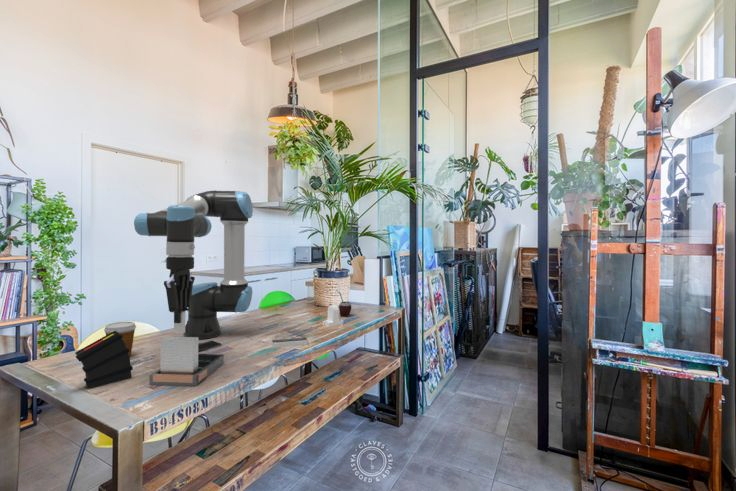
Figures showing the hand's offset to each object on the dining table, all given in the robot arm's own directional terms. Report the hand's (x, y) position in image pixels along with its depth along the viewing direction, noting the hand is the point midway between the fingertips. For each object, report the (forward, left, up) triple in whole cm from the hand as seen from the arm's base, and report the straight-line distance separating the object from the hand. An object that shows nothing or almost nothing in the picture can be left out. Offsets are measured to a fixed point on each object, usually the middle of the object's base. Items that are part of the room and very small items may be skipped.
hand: (179, 332), depth 106 cm
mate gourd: (+43, +92, -15) cm, 103 cm away
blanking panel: (0, 0, -14) cm, 14 cm away
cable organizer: (+39, +73, -15) cm, 84 cm away
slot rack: (0, +6, -15) cm, 16 cm away
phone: (-9, +30, -16) cm, 35 cm away
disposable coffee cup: (-32, +18, -15) cm, 40 cm away
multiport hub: (+25, +38, -16) cm, 48 cm away
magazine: (-21, -3, -15) cm, 26 cm away
